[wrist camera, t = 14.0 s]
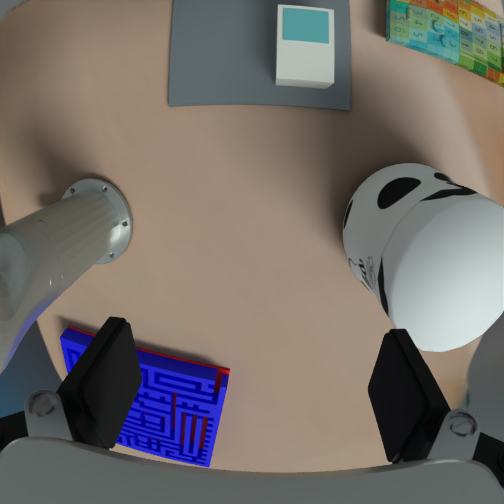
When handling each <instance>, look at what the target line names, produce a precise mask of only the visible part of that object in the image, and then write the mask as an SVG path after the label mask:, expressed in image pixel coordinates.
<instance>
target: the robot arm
mask: <svg viewBox="0 0 504 504" xmlns="http://www.w3.org/2000/svg"><path fill="white" fill-rule="evenodd" d="M106 187H107V189H106ZM126 221H127V222H126ZM132 231H133V220H132V215H131V211H130V208H129V206H128V203H127V201H126V200H125V198H124V196H123V195H122V194H121V193H120V191H119V190H118V189H117V188H115V187H114V186H113V185H112V184H110V183H108V182H106V181H105V180H101V179H98V178H88V179H83V180H80V181H77V182H76V183H74V184H72V185H71V186H70V187H69V188H68V189H67V190H66V192H65V193H64V195H63V196H62V199H61V200H60V201H58V202H56V203H53V204H51V205H49V206H47V207H44V208H42V209H40V210H38V211H36V212H34V213H32V214H29V215H27V216H25V217H23V218H21V219H19V220H17V221H15V222H13V223H11V224H9V225H7V226H5V227H4V228H2V229H1V230H0V374H1V372H2V371H3V370H4V369H5V367H6V366H7V364H8V363H9V361H10V359H11V358H12V356H13V354H14V352H15V350H16V349H17V347H18V345H19V343H20V341H21V339H22V338H23V336H24V334H25V333H26V332H27V330H28V329H29V327H30V326H31V325H32V324H33V322H34V321H35V320H36V319H37V318H38V317H39V316H40V314H41V313H42V312H43V311H44V310H45V309H46V308H47V307H48V306H49V305H50V304H51V303H52V302H53V301H54V300H55V299H57V298H58V297H59V296H60V295H61V294H62V293H63V292H64V291H65V290H66V289H67V288H68V287H70V286H71V285H72V284H73V283H74V282H75V281H76V280H77V279H78V278H79V277H80V276H82V275H83V274H84V273H85V272H86V271H87V270H88V269H89V268H91V267H92V266H93V265H94V264H106V263H110V262H112V261H114V260H116V259H117V258H118V257H119V256H121V255H122V254H123V252H124V251H125V250H126V249H127V247H128V245H129V243H130V240H131V237H132ZM141 383H142V372H141V368H140V364H139V360H138V356H137V352H136V348H135V343H134V339H133V334H132V330H131V325H130V323H128V322H126V320H125V319H124V318H119V317H109V318H108V319H107V321H106V322H105V323H104V325H103V326H102V327H101V329H100V330H99V331H98V333H97V334H96V336H95V337H94V338H93V340H92V341H91V342H90V344H89V345H88V347H87V348H86V349H85V351H84V352H83V354H82V355H81V356H80V358H79V359H78V361H77V362H76V363H75V365H74V366H73V368H72V369H71V371H70V372H69V374H68V375H67V376H66V378H65V379H64V381H63V382H62V384H61V385H60V387H59V389H58V391H57V392H54V391H52V390H46V389H45V390H39V391H36V392H34V393H33V394H31V395H30V396H29V397H28V398H27V400H26V402H25V405H24V411H21V412H18V413H15V414H12V415H9V416H6V417H3V418H0V504H504V442H502V441H500V440H497V439H495V438H493V437H490V436H488V435H486V434H484V433H482V432H480V429H481V425H480V421H479V419H478V418H477V416H476V415H474V414H473V413H472V412H470V411H468V410H465V409H454V410H451V409H450V407H449V405H448V403H447V401H446V400H445V398H444V396H443V394H442V392H441V390H440V388H439V386H438V384H437V382H436V380H435V379H434V377H433V375H432V373H431V371H430V369H429V367H428V366H427V364H426V363H425V361H424V360H423V358H422V356H421V354H420V352H419V351H418V349H417V347H416V345H415V344H414V342H413V340H412V338H411V337H410V335H409V333H408V332H407V330H406V329H391V330H390V331H389V333H386V334H385V335H384V338H383V341H382V345H381V348H380V351H379V354H378V358H377V361H376V364H375V367H374V370H373V373H372V376H371V379H370V382H369V385H368V394H369V397H370V401H371V404H372V407H373V410H374V414H375V417H376V421H377V424H378V428H379V431H380V435H381V438H382V442H383V445H384V449H385V453H386V456H387V460H388V461H389V462H392V464H391V465H384V466H376V467H368V468H359V469H349V470H338V471H323V472H296V473H272V472H245V471H230V470H219V469H209V468H200V467H192V466H185V465H178V464H172V463H166V462H161V461H155V460H150V459H145V458H140V457H136V456H131V455H127V454H122V453H118V452H114V451H110V450H109V449H110V448H113V447H114V446H115V444H116V441H117V439H118V437H119V434H120V432H121V429H122V427H123V425H124V422H125V420H126V418H127V415H128V413H129V411H130V408H131V406H132V404H133V402H134V399H135V397H136V395H137V392H138V390H139V388H140V386H141Z"/></svg>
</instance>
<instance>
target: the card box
mask: <svg viewBox="0 0 504 504" xmlns="http://www.w3.org/2000/svg"><path fill="white" fill-rule="evenodd" d="M333 83H334V10H332V9H324V8H316V7H306V6H294V5H278V10H277V36H276V78H275V85H281V86H297V87H310V88H321V89H326V88H328V87H329V86H331V85H332V84H333Z"/></svg>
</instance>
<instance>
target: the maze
mask: <svg viewBox="0 0 504 504" xmlns="http://www.w3.org/2000/svg"><path fill="white" fill-rule="evenodd" d="M95 336H96V335H94V334H91V333H88V332H85V331H82V330H79V329H76V328H73V327H70V326H69V327H68V328H67V329H66V330H65V332H64V333H63V334H62V335H61V336H60V340H61V345H62V350H63V354H64V359H65V363H66V367H67V372H68V374H69V372H70V371H71V369H72V368H73V366H74V365H75V363H76V362H77V361H78V359H79V358H80V356H81V355H82V354H83V352H84V351H85V349H86V348H87V347H88V345H89V344H90V342H91V341H92V340H93V338H94V337H95ZM135 348H136V352H137V356H138V360H139V364H140V368H141V372H142V383H141V386H140V388H139V390H138V392H137V395H136V397H135V399H134V402H133V404H132V406H131V408H130V411H129V413H128V415H127V418H126V420H125V422H124V425H123V427H122V429H121V432H120V434H119V437H118V439H117V441H116V443H117V444H120V445H123V446H126V447H129V448H133V449H136V450H139V451H143V452H146V453H150V454H153V455H157V456H161V457H164V458H168V459H173V460H177V461H181V462H185V463H190V464H195V465H200V466H205V467H209V465H210V461H211V457H212V452H213V448H214V443H215V439H216V434H217V430H218V425H219V421H220V416H221V412H222V408H223V403H224V399H225V394H226V390H227V384H228V378H229V372H230V369H227V368H222V367H217V366H212V365H207V364H202V363H198V362H193V361H189V360H184V359H180V358H176V357H172V356H168V355H164V354H160V353H156V352H152V351H148V350H144V349H141V348H137V347H135Z"/></svg>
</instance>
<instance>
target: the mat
mask: <svg viewBox="0 0 504 504" xmlns="http://www.w3.org/2000/svg"><path fill="white" fill-rule="evenodd" d="M278 5H294V6H306V7H316V8H324V9H332V10H334V83H333V84H332V85H331V86H329V87H328V88H326V89H321V88H310V87H297V86H281V85H275V78H276V36H277V10H278ZM230 104H245V105H282V106H300V107H313V108H325V109H335V110H344V111H350V106H351V32H350V7H349V0H174V5H173V17H172V31H171V47H170V69H169V107H175V106H193V105H230Z"/></svg>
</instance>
